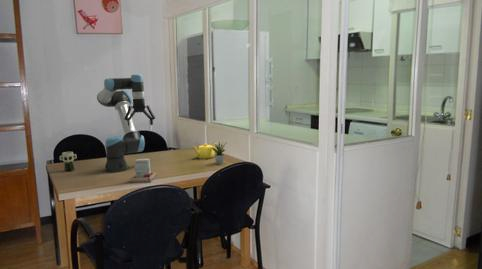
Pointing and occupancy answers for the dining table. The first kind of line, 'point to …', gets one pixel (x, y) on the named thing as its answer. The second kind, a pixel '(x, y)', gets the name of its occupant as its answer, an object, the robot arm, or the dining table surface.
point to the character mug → (68, 160)
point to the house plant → (219, 153)
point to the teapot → (205, 151)
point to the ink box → (142, 168)
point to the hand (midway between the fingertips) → (140, 130)
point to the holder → (150, 179)
